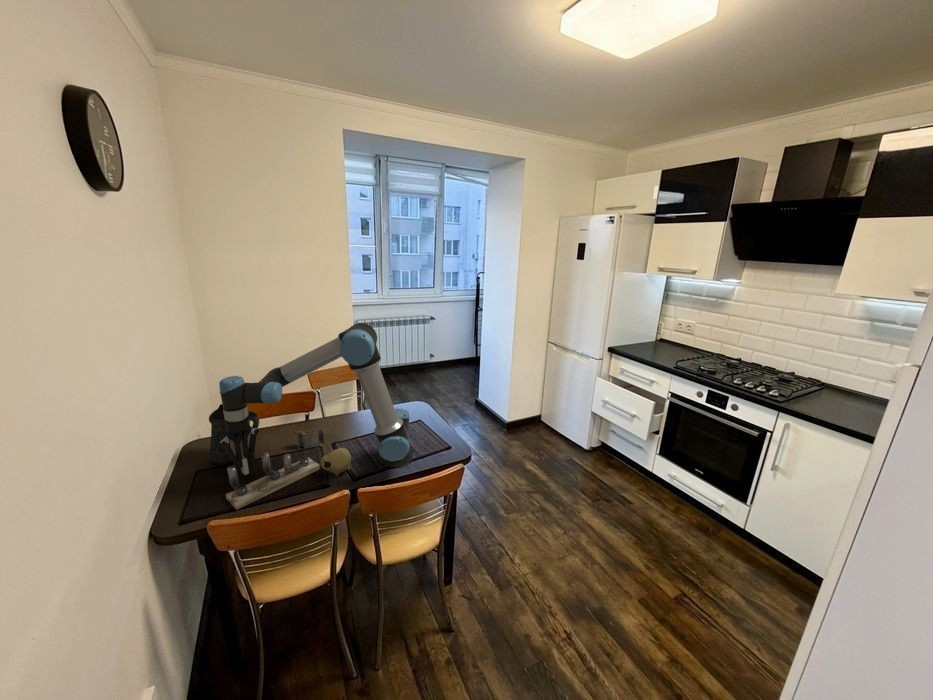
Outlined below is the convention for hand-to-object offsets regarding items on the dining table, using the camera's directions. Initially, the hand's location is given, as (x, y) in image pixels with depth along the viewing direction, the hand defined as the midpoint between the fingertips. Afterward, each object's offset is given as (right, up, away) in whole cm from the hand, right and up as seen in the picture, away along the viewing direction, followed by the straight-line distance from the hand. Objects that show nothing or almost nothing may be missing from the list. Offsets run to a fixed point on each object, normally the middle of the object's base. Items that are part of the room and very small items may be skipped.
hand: (245, 472), depth 140 cm
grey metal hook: (+7, -2, +5) cm, 9 cm away
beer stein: (-16, +1, +20) cm, 26 cm away
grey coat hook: (+16, -1, +9) cm, 18 cm away
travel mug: (-6, -3, +10) cm, 12 cm away
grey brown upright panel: (+13, +2, +30) cm, 33 cm away
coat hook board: (+10, -5, +4) cm, 12 cm away
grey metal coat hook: (0, -5, -4) cm, 6 cm away
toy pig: (+31, -4, +12) cm, 33 cm away
